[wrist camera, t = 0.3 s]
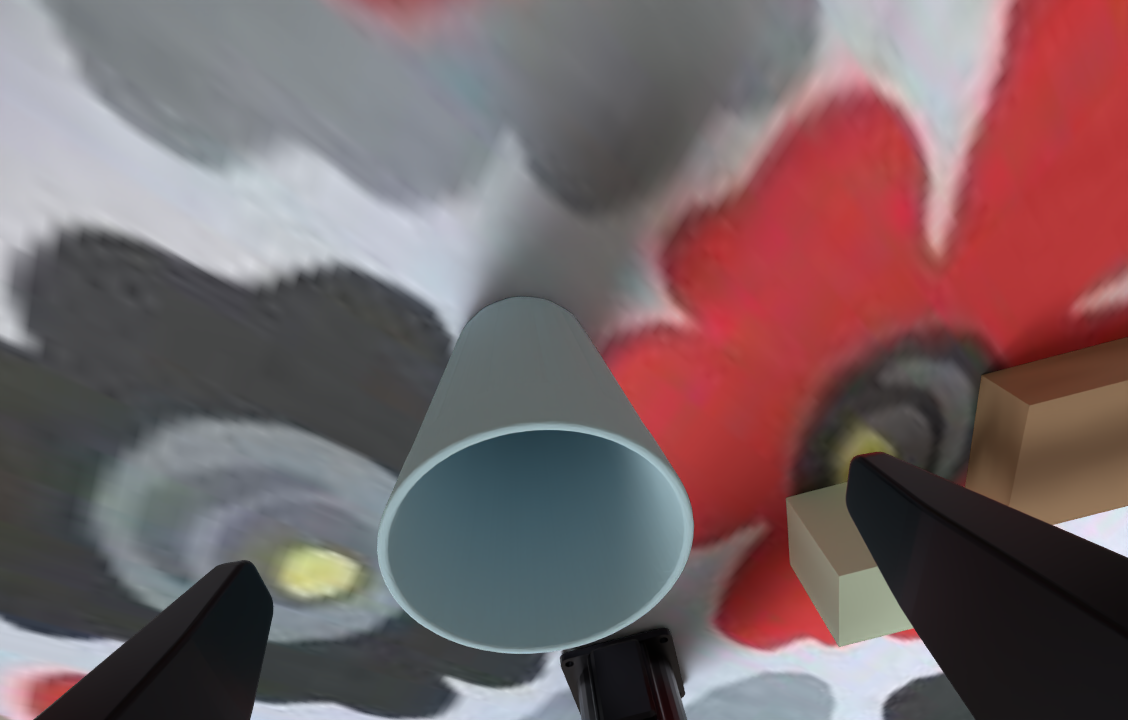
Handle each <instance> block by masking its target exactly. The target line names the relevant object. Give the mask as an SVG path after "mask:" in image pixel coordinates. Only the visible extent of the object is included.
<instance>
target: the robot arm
mask: <svg viewBox="0 0 1128 720" xmlns="http://www.w3.org/2000/svg"><path fill="white" fill-rule="evenodd" d="M846 506H847V509H848V512H849V514H850V516H851V518H852V520H853V522H854V524H855V525H856V527H857V529H858V531H859V533H860V535H861V537H862V538H863V540H864V542H865V544H866V546H867V548H868V550H869V551H870V553H871V555H872V557H873V559H874V561H875V563H876V564H877V566H878V568H879V570H880V572H881V574H882V576H883V577H884V579H885V581H886V583H887V585H888V587H889V589H890V590H891V592H892V594H893V596H894V597H895V599H896V601H897V603H898V604H899V606H900V608H901V609H902V611H903V612H904V614H905V615H906V617H907V619H908V620H909V622H910V623H911V625H912V626H913V628H914V629H915V631H916V632H917V634H918V635H919V637H920V638H921V640H922V641H923V642H924V644H925V645H926V647H927V648H928V650H929V651H930V653H931V654H932V656H933V657H934V659H935V660H936V662H937V663H938V665H939V666H940V668H941V669H942V671H943V672H944V674H945V675H946V677H947V678H948V680H949V681H950V683H951V684H952V686H953V687H954V688H955V690H956V691H957V693H958V694H959V696H960V697H961V699H962V700H963V702H964V703H965V705H966V706H967V708H968V709H969V711H970V712H971V714H972V715H973V717H974V718H975V720H1128V558H1127V557H1125V556H1123V555H1120V554H1118V553H1116V552H1114V551H1111V550H1109V549H1107V548H1104V547H1102V546H1100V545H1097V544H1095V543H1093V542H1090V541H1088V540H1086V539H1083V538H1081V537H1079V536H1076V535H1074V534H1072V533H1069V532H1067V531H1065V530H1063V529H1060V528H1058V527H1056V526H1053V525H1051V524H1049V523H1046V522H1044V521H1042V520H1039V519H1037V518H1035V517H1032V516H1030V515H1028V514H1025V513H1023V512H1021V511H1018V510H1016V509H1014V508H1011V507H1009V506H1007V505H1005V504H1002V503H1000V502H998V501H995V500H993V499H991V498H988V497H986V496H984V495H981V494H979V493H977V492H974V491H972V490H970V489H967V488H965V487H963V486H960V485H958V484H956V483H954V482H951V481H949V480H947V479H944V478H942V477H940V476H937V475H935V474H933V473H930V472H928V471H926V470H923V469H921V468H919V467H916V466H914V465H912V464H909V463H907V462H905V461H902V460H900V459H898V458H896V457H893V456H891V455H889V454H886V453H883V452H873V453H868V454H862V455H857V456H855V457H853V459H852V460H851V463H850V468H849V475H848V482H847V489H846ZM272 617H273V601H272V597H271V595H270V593H269V591H268V589H267V588H266V586H265V584H264V582H263V580H262V578H261V577H260V575H259V573H258V571H257V569H256V567H255V566H254V564H253V563H251V562H250V561H246V560H242V561H236V562H230V563H224V564H221V565H218V566H216V567H215V568H214V569H212V570H211V571H210V572H209V573H208V574H206V575H205V576H204V577H203V578H202V579H200V580H199V581H198V582H197V583H196V584H195V585H193V586H192V587H191V588H190V589H189V590H187V591H186V592H185V593H184V594H183V595H181V596H180V597H179V598H178V599H177V600H175V601H174V602H173V603H172V604H171V605H170V606H168V607H167V608H166V609H165V610H164V611H162V612H161V613H160V614H159V615H158V616H156V617H155V618H154V619H153V620H152V621H150V622H149V623H148V624H147V625H146V626H145V627H143V628H142V629H141V630H140V631H139V632H137V633H136V634H135V635H134V636H133V637H131V638H130V639H129V640H128V641H127V642H125V643H124V644H123V645H122V646H121V647H120V648H118V649H117V650H116V651H115V652H114V653H112V654H111V655H110V656H109V657H108V658H106V659H105V660H104V661H103V662H102V663H100V664H99V665H98V666H97V667H96V668H94V669H93V670H92V671H91V672H90V673H89V674H87V675H86V676H85V677H84V678H83V679H81V680H80V681H79V682H78V683H77V684H75V685H74V686H73V687H72V688H71V689H69V690H68V691H67V692H66V693H65V694H64V695H62V696H61V697H60V698H59V699H58V700H56V701H55V702H54V703H53V704H52V705H50V706H49V707H48V708H47V709H46V710H44V711H43V712H42V713H41V714H40V715H39V716H37V717H36V718H35V719H34V720H250V718H251V714H252V710H253V706H254V701H255V697H256V692H257V687H258V682H259V678H260V673H261V668H262V664H263V659H264V654H265V649H266V645H267V640H268V635H269V631H270V626H271V621H272ZM560 662H561V668H562V670H563V673H564V675H565V678H566V680H567V682H568V685H569V687H570V690H571V692H572V695H573V697H574V700H575V702H576V704H577V707H578V709H579V712H580V714H581V719H582V720H687V717H686V714H685V710H684V707H683V704H682V700H681V698H682V697H684V695H685V691H684V686H683V682H682V678H681V674H680V669H679V665H678V661H677V657H676V652H675V648H674V644H673V640H672V636H671V633H670V631H669V630H668V629H666V628H661V629H657V630H653V631H649V632H645V633H641V634H637V635H633V636H629V637H625V638H621V639H617V640H613V641H609V642H606V643H602V644H598V645H594V646H590V647H586V648H582V649H578V650H574V651H570V652H566V653H564V654H562V655H561V657H560Z"/></svg>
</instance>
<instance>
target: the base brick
mask: <svg viewBox="0 0 1128 720" xmlns="http://www.w3.org/2000/svg"><path fill="white" fill-rule="evenodd" d="M965 488H967V489H970V490H972V491H974V492H977V493H979V494H981V495H984V496H986V497H988V498H991V499H993V500H995V501H998V502H1000V503H1002V504H1005V505H1007V506H1009V507H1011V508H1014V509H1016V510H1018V511H1021V512H1023V513H1025V514H1028V515H1030V516H1032V517H1035V518H1037V519H1039V520H1042V521H1044V522H1046V523H1049V524H1051V525H1054V524H1058V523H1062V522H1066V521H1070V520H1074V519H1078V518H1082V517H1086V516H1090V515H1094V514H1098V513H1102V512H1106V511H1110V510H1114V509H1117V508H1121V507H1125V506H1128V337H1125V338H1122V339H1118V340H1114V341H1110V342H1106V343H1102V344H1099V345H1095V346H1091V347H1087V348H1083V349H1079V350H1076V351H1072V352H1068V353H1064V354H1060V355H1057V356H1053V357H1049V358H1045V359H1041V360H1037V361H1034V362H1030V363H1026V364H1022V365H1018V366H1015V367H1011V368H1007V369H1003V370H999V371H995V372H992V373H988V374H984V375H982V376H981V383H980V389H979V396H978V403H977V410H976V417H975V423H974V430H973V437H972V444H971V451H970V457H969V464H968V471H967V478H966V485H965Z"/></svg>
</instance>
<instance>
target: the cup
mask: <svg viewBox="0 0 1128 720" xmlns="http://www.w3.org/2000/svg"><path fill="white" fill-rule="evenodd" d="M693 534H694V521H693V513H692V507H691V503H690V500H689V497H688V494H687V492H686V490H685V488H684V486H683V484H682V482H681V480H680V478H679V477H678V475H677V474H676V472H675V470H674V469H673V467H672V466H671V464H670V463H669V461H668V459H667V458H666V456H665V455H664V453H663V452H662V450H661V449H660V447H659V445H658V444H657V442H656V441H655V439H654V438H653V436H652V435H651V433H650V432H649V430H648V429H647V428H646V427H645V425H644V424H643V422H642V421H641V419H640V417H639V416H638V414H637V413H636V411H635V409H634V408H633V406H632V405H631V403H630V401H629V400H628V398H627V397H626V395H625V394H624V392H623V390H622V389H621V387H620V386H619V384H618V382H617V381H616V379H615V378H614V376H613V374H612V373H611V371H610V370H609V368H608V367H607V365H606V363H605V362H604V360H603V359H602V357H601V355H600V354H599V352H598V351H597V349H596V347H595V346H594V344H593V343H592V341H591V340H590V338H589V337H588V335H587V334H586V332H585V331H584V329H583V328H582V327H581V325H580V324H579V322H578V321H577V319H576V318H575V317H574V316H573V315H572V314H571V313H570V312H569V311H567V310H566V309H564V308H562V307H560V306H559V305H557V304H555V303H553V302H551V301H549V300H546V299H542V298H535V297H511V298H507V299H504V300H501V301H498V302H496V303H493V304H491V305H488V306H486V307H485V308H483V309H482V310H481V311H480V312H478V313H477V315H476V316H475V317H474V318H472V319H471V320H470V321H469V322H468V323H467V325H466V326H465V327H464V329H463V330H462V332H461V335H460V337H459V339H458V341H457V343H456V346H455V348H454V350H453V353H452V355H451V357H450V360H449V362H448V364H447V367H446V369H445V371H444V374H443V376H442V378H441V381H440V383H439V385H438V388H437V390H436V393H435V395H434V397H433V400H432V402H431V404H430V407H429V409H428V411H427V414H426V416H425V418H424V421H423V423H422V425H421V428H420V430H419V432H418V435H417V437H416V440H415V442H414V444H413V447H412V449H411V451H410V452H409V455H408V457H407V459H406V461H405V463H404V466H403V468H402V470H401V473H400V475H399V477H398V480H397V482H396V484H395V486H394V489H393V491H392V493H391V496H390V498H389V500H388V503H387V505H386V507H385V510H384V512H383V515H382V518H381V522H380V526H379V531H378V539H377V553H378V562H379V566H380V570H381V573H382V576H383V579H384V581H385V583H386V585H387V587H388V589H389V591H390V592H391V594H392V595H393V597H394V598H395V600H396V601H397V602H398V603H399V605H400V606H401V607H402V608H403V609H404V610H405V611H406V612H407V613H408V614H409V615H410V616H411V617H412V618H413V619H415V620H416V621H417V622H418V623H420V624H421V625H423V626H424V627H426V628H428V629H429V630H431V631H433V632H434V633H436V634H438V635H440V636H442V637H444V638H446V639H449V640H451V641H454V642H456V643H459V644H462V645H465V646H469V647H473V648H477V649H481V650H487V651H493V652H500V653H514V654H531V653H543V652H553V651H559V650H565V649H569V648H573V647H578V646H581V645H585V644H588V643H591V642H594V641H596V640H599V639H602V638H604V637H606V636H609V635H611V634H613V633H615V632H617V631H619V630H621V629H623V628H624V627H626V626H628V625H630V624H632V623H633V622H634V621H636V620H637V619H639V618H640V617H642V616H643V615H645V614H646V613H647V612H648V611H650V610H651V609H652V608H653V607H654V606H655V605H656V604H658V603H659V601H660V600H661V599H662V598H663V597H664V596H665V595H666V594H667V593H668V592H669V591H670V589H671V588H672V587H673V585H674V584H675V582H676V581H677V579H678V578H679V576H680V575H681V573H682V571H683V569H684V567H685V565H686V562H687V560H688V557H689V554H690V551H691V547H692V542H693Z"/></svg>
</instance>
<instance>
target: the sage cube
mask: <svg viewBox="0 0 1128 720" xmlns="http://www.w3.org/2000/svg"><path fill="white" fill-rule="evenodd" d="M846 489H847V482H845V483H841V484H837V485H833V486H829V487H825V488H822V489H818V490H814V491H810V492H806V493H802V494H798V495H794V496H791V497H787V498H786V508H787V524H788V540H789V556H790V565H791V567H792V568H793V570H794V572H795V574H796V575H797V577H798V579H799V580H800V582H801V584H802V585H803V587H804V589H805V590H806V592H807V594H808V596H809V597H810V599H811V601H812V602H813V604H814V606H815V607H816V609H817V611H818V612H819V614H820V616H821V617H822V619H823V621H824V623H825V624H826V626H827V628H828V629H829V631H830V633H831V634H832V636H833V638H834V639H835V641H836V643H837V644H838V646H839V647H841V646H845V645H849V644H853V643H857V642H861V641H865V640H869V639H873V638H877V637H881V636H884V635H888V634H892V633H896V632H900V631H904V630H908V629H912V628H913V626H912V625H911V623H910V622H909V620H908V619H907V617H906V615H905V614H904V612H903V611H902V609H901V608H900V606H899V604H898V603H897V601H896V599H895V597H894V596H893V594H892V592H891V590H890V589H889V587H888V585H887V583H886V581H885V579H884V577H883V576H882V574H881V572H880V570H879V568H878V566H877V564H876V563H875V561H874V559H873V557H872V555H871V553H870V551H869V550H868V548H867V546H866V544H865V542H864V540H863V538H862V537H861V535H860V533H859V531H858V529H857V527H856V525H855V524H854V522H853V520H852V518H851V516H850V514H849V512H848V509H847V506H846Z"/></svg>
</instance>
